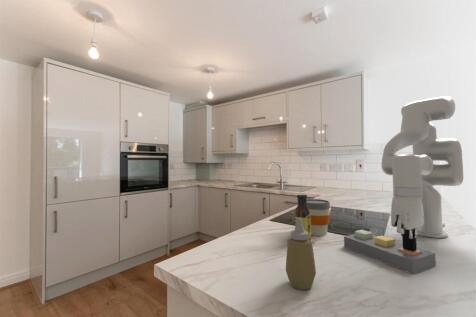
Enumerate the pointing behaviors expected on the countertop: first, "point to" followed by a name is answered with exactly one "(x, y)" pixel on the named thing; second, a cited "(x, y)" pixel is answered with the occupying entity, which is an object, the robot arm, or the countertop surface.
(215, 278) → the countertop surface
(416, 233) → the robot arm
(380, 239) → the ochre key
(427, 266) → the console
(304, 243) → the squeeze bottle
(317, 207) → the reusable coffee cup
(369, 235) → the sage key
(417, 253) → the terracotta key
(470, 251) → the countertop surface
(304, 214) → the sauce bottle
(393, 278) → the countertop surface
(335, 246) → the countertop surface
